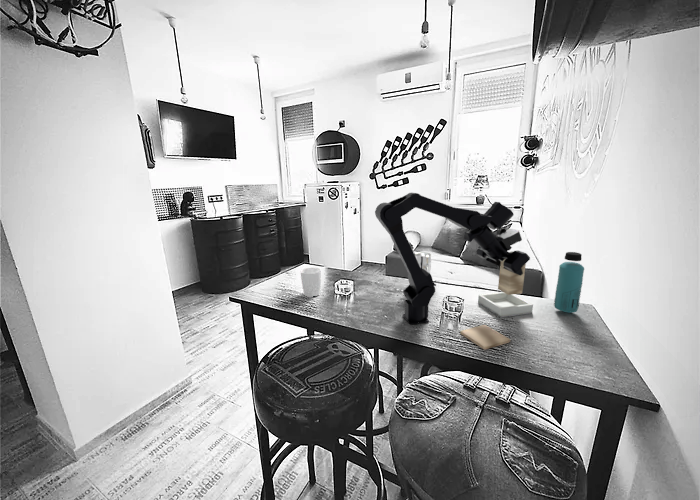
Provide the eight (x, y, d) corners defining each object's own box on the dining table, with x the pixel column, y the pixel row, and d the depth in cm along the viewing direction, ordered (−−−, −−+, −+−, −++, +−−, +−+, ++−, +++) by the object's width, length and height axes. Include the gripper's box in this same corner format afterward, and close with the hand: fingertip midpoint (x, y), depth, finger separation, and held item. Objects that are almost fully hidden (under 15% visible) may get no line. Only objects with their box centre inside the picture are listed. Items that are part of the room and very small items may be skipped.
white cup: (326, 292, 117) (324, 269, 114) (313, 299, 110) (311, 274, 108) (311, 289, 121) (309, 266, 119) (298, 295, 115) (296, 272, 112)
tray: (500, 317, 92) (501, 308, 91) (477, 302, 103) (478, 294, 102) (532, 313, 94) (533, 304, 93) (506, 299, 105) (507, 291, 104)
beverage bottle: (570, 319, 89) (580, 256, 84) (548, 310, 95) (556, 252, 90) (581, 314, 92) (592, 253, 87) (559, 306, 98) (568, 249, 93)
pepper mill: (507, 294, 92) (512, 254, 89) (497, 288, 97) (501, 250, 94) (522, 293, 93) (527, 253, 90) (511, 287, 98) (515, 250, 95)
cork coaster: (484, 349, 75) (484, 347, 75) (460, 333, 83) (460, 330, 83) (510, 342, 78) (510, 339, 78) (484, 326, 86) (484, 324, 86)
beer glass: (430, 294, 112) (432, 256, 108) (412, 293, 113) (413, 256, 110) (429, 287, 118) (430, 252, 115) (412, 286, 120) (412, 251, 116)
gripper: (528, 225, 80) (557, 261, 84) (487, 217, 98) (514, 247, 102) (498, 255, 81) (530, 289, 85) (464, 241, 99) (491, 270, 103)
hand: (515, 271), depth 94 cm, fingers closed on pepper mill, 5 cm apart
